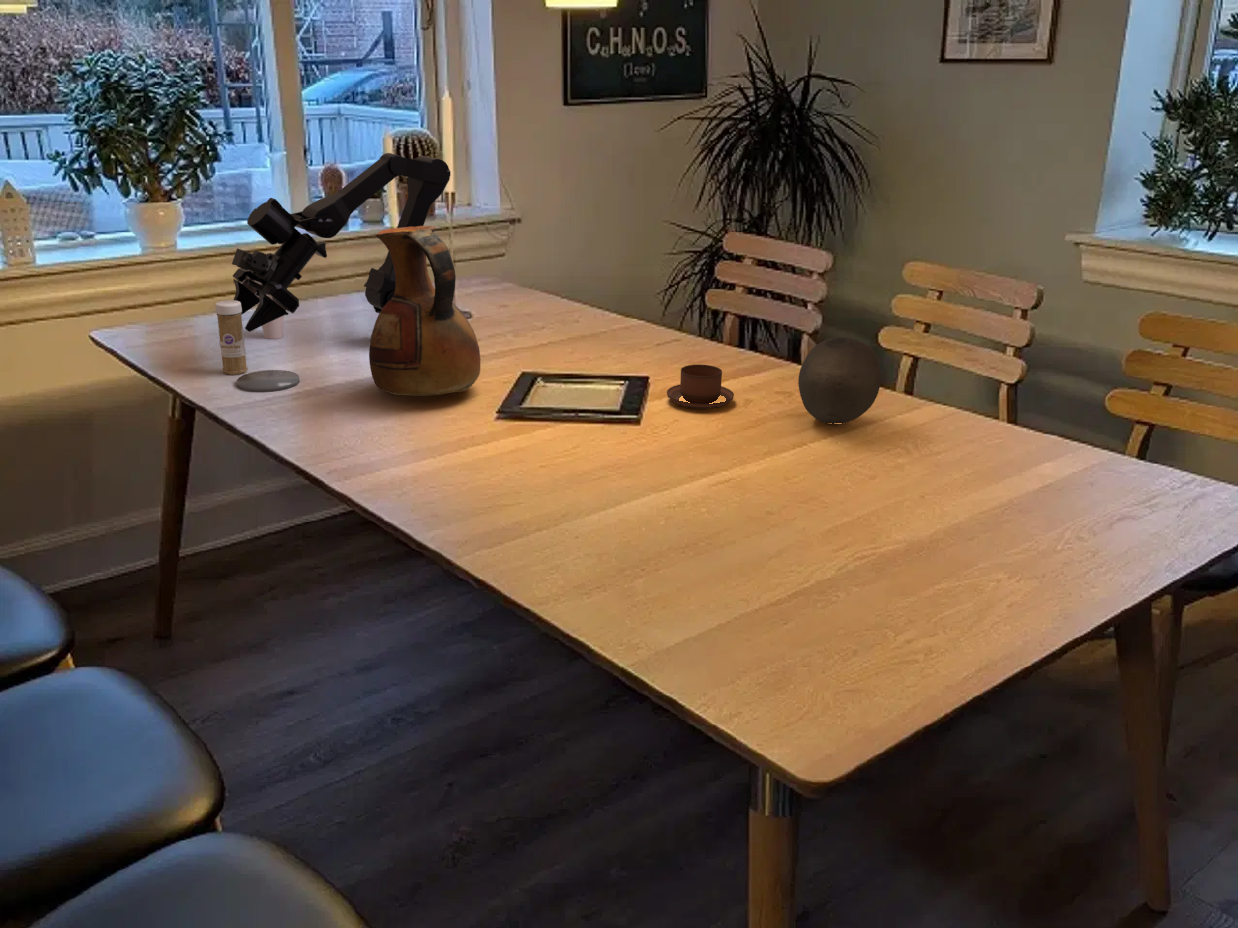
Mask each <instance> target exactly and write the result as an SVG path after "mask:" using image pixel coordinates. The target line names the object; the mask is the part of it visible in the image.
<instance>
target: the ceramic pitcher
mask: <svg viewBox="0 0 1238 928" xmlns="http://www.w3.org/2000/svg"><path fill="white" fill-rule="evenodd" d="M436 229H437V228H436V226H435V225H434V226H432V225H426V226H425V225H424V226H417V227H403V228H397V227H393V228H387V229H382V230H380V231H378V233H376V234H375V238H377V239H379V240H380V241H381V242H382V243H383V244H384V246H385V247H386V248H387V251H389V253H390V255H391V258H392V262H393V266H394V271H395V276H396V287H395V293H394V296H393V297H392V298H391V299H390V300H389V301H388V302H387V303H386V304H385V306H384V307H383V308H382V310H381V312H380V313H378V316H377V317H376V319H375V322H374V325H373V329H372V331H371V334H370V335H371V336H370V340H369V349H368V360H369V361H368V362H369V368H370V373H371V377H372V379H373V383H374V385H375V386H376V388H377V389H379V390H381V391H384V392H386V393H390V394H393V395H398V396H411V397H413V396H417V397H426V396H427V397H428V396H438V395H446V394H451V393H455V392H456V393H461V392H465V391H467V390H468V389H470V388H471V387H472V386H473V385H474V384H475V383H476V381H477V380H478V378H479V376H480V374H481V352H480V346H479V343H478V340H477V336H476V333H475V331H474V328H473V327H472V326H471V323H470V322H469V320H468V318H467V317H466V315H465V314H464V312H463V311H462V310H461V309H460V308H459V306H457V305H456V304H455V303H454V297H455V290H456V280H457V278H456V276H457V275H456V268H455V266H454V262H453V259H452V256H451V253H450V250H449V248H448V246H447V244H446V242H445V241H444V240H443V239H442V238H441V237H440V236H439V234H438V233H436V232H435V231H436ZM427 260H428V262H429V265H430V268H431V271H432V275H433V280H434V281H433V282H434V285H433V282H432V280H431V277H430V274H429V270H428V264H427V263H428V262H427Z"/></svg>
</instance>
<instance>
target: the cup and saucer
mask: <svg viewBox="0 0 1238 928" xmlns="http://www.w3.org/2000/svg"><path fill="white" fill-rule="evenodd" d="M722 377H723V370H722V369H721V368H720V367H718V366H715V365H709V364H690V365H689V364H688V365H685V366H682V368H680V384H676V385H673V386H671V387H670V388H667V390H666V395H667V398H668V399H669V400H670V401H672V402H673V403H674V404H676V405H679V406H681V407H685V408H691V409H696V408H697V410H699V409H700V410H706V409H707V410H708V409H709V408H710V409H716V408H720V407H724V406H727V405H728V404H729V403H731V402H732V401H733V399H734V396H735V395H734V394H735V393H734V391H732V390H731V389H730V388H728V387H725V386H722V380H723V379H722ZM720 395H721V396H724V397H725V398H726V401H725V402H720V403H713V404H709V403H712V402H714V401H716V400H717V399H718V397H719V396H720ZM681 396H683V398H684V399H685V400H686V401H688V402H690V403H688V402H683V401H679V398H680V397H681Z"/></svg>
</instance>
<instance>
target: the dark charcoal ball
mask: <svg viewBox="0 0 1238 928" xmlns="http://www.w3.org/2000/svg"><path fill="white" fill-rule="evenodd" d="M801 364H802V365H801V367H800V370H799V373H798V379H797V380H798V382H797V383H798V390H799V395H800V398H801V402H802V405H803V407H804V409H805V410H806V411H807V412H808V413H809V415H811V417H813V418H814V419H815V420H817V421H819V422H820V421H821V423H823V422H825V423H824V424H826V423H832V424H834V423H842V424H841V425H844V424H843V423H845V424H847V423H850V422H852V421H854V420H856V419H857V418H860V417H861V416H862V415H864V414H865V413H867V411H868V410H869V409H870V408H871V407H872V406H873V404H874V402H875V401H876V399H877V397H878V394H879V391H880V388H881V385H882V371H881V365H880V362H879V357H878V356H877V354H876V352H875V351H874V350H873V349H872V348H871V347H870V346H869V345H868V344H867V343H865V342H862V341H860V340H857V339H855V338H852V337H844V336H838V337H837V336H836V337H832V338H831V337H830V338H827V339H825V340H823V341H821V342H819V343H817V344H816V345H814V347H812V348H811V349H810V351H809V352H808V354H806V356H805V359H804V361H803V363H801ZM832 424H831V425H832Z"/></svg>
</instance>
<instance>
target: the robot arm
mask: <svg viewBox="0 0 1238 928" xmlns="http://www.w3.org/2000/svg"><path fill="white" fill-rule="evenodd" d="M398 176H402V177H405V178H407V179H406V180H407V181H406V185H407V187H406V188H407V199H406V201H405V205H404V207H403V210H402V213H401V216H400V218H399V222H398V224H397V227H396V228H403V227H417V226H425V223H426V220H427V217H428V214H429V211H430V209H431V207H432V205H433V204H434V203H435V202H436V200H438V199H439V198H440V196H441V195H442V194H443V192H444V190H445V188H447V185H448V183H449V182H450V179H451V176H452V175H451V170H450V167H449V165H448V164H447V162H445V161H444V160H443V159H440V158H437V157H430V156H425V155H422V156H421V155H420V156H418V157H415V158H414V159H413V158H408V157H404V156H402V155H399V154H396V153H391V152H385V153H383V154H382V155H381V156H380V157H379V158H378V159H377V160H376V161H375V162H374V163H373V164H371V165H370V166H368V168H366V169H365V170H364V171H362V172H361V173H360V174H358V175H357V176H356V177H354V178H353V179H352V180H351V181H350V182H348V183H347V184H346V185H345V186H343V187H342V188H341V189H340V190H338V191H337V192H334V193H333V194H331V195H328V196H325V197H322V198H320V199H318V200H315V201H313V202H312V203H310V204H308V205H307V206H305V207H304V208H303V209H302V211H298V212H294V213H293V212H292V213H290V212H289V211H287V210H286V209H285V208H284V207H283V206H282V204H281V203H280V202H279V200H277V199H275V198H272V197H269V198H268V200H267V201H265V202H263V203H261V204H259V206H257V207H256V208H254V209H253V210H252V211H251V213H250V214H249V216H248V217H247V221H246V223H247V225H248V226H249V227H250V228H252V230H253V231H255V233H257V234H258V235H259V236H260V237H262V238H263V239H264V240H265V241H266V242H267V243H268V244H269V245H276V244H278V245H280V246H279V247H278V248H277V250H276V251H275V252H274V253H272V252H269V253H264V252H261V251H259V250H254V251H253V252H248V251H246V250H244V249H241V248H237V247H236V251H235V253H234V256H233V258H232V262H231V264H232V265H233V266H236V267H237V269H236V271H235V272H234V273H233V275H232V277H233V280H232V281H233V283H234V287H235V295H234V297H233V300H236V301H239V302H240V303H241V307H242V312H241V313H242V314H241V316H242V315H243V314H246V313H247V312H248V311H249V310H251V309H252V308H254V307H256V306H257V304H258V303H259V302H260V303H259V305H258V306H257V307H256V308H255V310H254V311H253V313H252V314H251V316H250V318H249V320H248V321H247V323H246V325H245V327H244V329H245V331H247V332H252V331H254V330H256V329H258V328H261V327H262V326H263V325H265V324H267V323H269V322H271V321H273V320H275V319H277V318H280V317H282V316H284V317H285V316H288V315H289V313H291V314H294V313H295V312H296V310H298V308H299V307H300V299H299V298H298V297H297V296H295V294H293V293H292V292H291V291H290V290H289V289H288V288H290V286H291V284H292V283H293V282H294V280H298V281H300V280H301V278H302V277H303V275H301V274H300V273H301V272H302V271H303V269H304V268H305V267H306V266H307V264H309V262H310V261H311V259H312V258H313V257H314V256H315V254H316V255H317V256H319V257H322V258H324V259H327V257H328V255H327V248H326V246H327V245H326V243H325V242H322V241H317V240H316V239H314V238H313V236H312V235H314V236H317V237H319V238H323V239H331V238H333V237H336V236H337V235H338V233H340V232H341V230H342V229H343V228H344V227H345V226H346V224H348V221H349V220H350V217H351V215H352V214H353V213H354V212H355V210H357V209H358V208H359V207H360V206H361V205H363V204H364V203H365V202H367V201H368V200H369V199H371V197H373V196H375V194H376V193H378V192H379V191H380V190H382V189H383V188H384V187H385V186H387V185H388V184H389V183H391V181H393V180H394V179H395V178H397V177H398ZM296 228H297V229H296ZM298 228H299V229H301V230H305V233H301V232H300V231H299V230H298ZM306 232H307V233H306ZM387 251H388V250H387ZM363 287H364V288H365V291H364V295H365V297H366V301H367V302H368V303H369V304H370V306H372V307H373V309H374V311H375V313H376V314H379V313H380V312H381V310H382V308H383V307H384V306H385V304H386V303H387V302H388V301H389V300H390V299H391V298H392V297H393V296H394V293H395V287H396V276H395V271H394V266H393V262H392V258H391V255H390V253H389V251H388V252H387V254H386V257H385V260H384V263H382V265H381V266H380V267H379V268H378V269H376V268H374V267H371V268H370V270H369V273H368V278H367V280H366V282H365V283H364V285H363ZM267 295H268V296H267ZM257 296H258V297H259V298H258V297H257Z"/></svg>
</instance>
